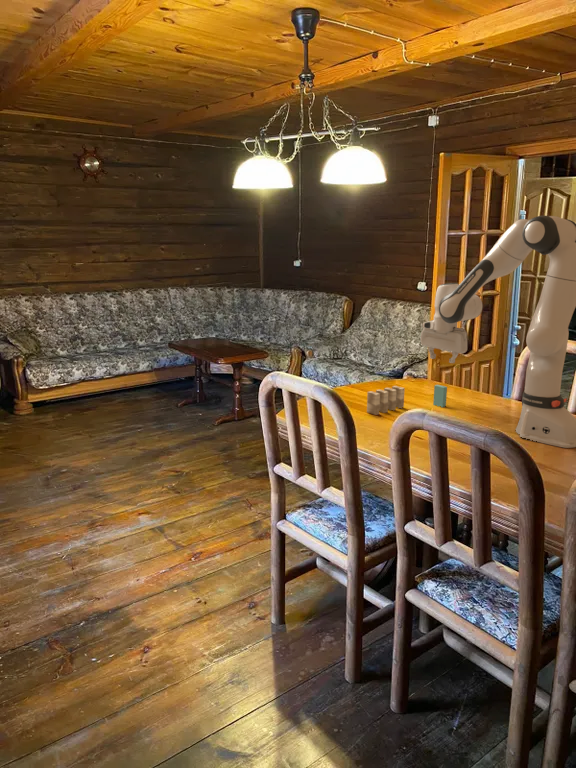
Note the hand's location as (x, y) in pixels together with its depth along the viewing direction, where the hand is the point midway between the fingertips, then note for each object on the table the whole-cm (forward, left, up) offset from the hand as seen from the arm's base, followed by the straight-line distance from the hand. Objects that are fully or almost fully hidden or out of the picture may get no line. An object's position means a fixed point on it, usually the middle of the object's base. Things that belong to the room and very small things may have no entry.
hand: (442, 360), depth 231 cm
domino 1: (+9, +28, -18) cm, 35 cm away
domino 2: (+9, +24, -18) cm, 31 cm away
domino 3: (+9, +19, -18) cm, 28 cm away
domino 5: (0, 0, -18) cm, 18 cm away
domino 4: (+9, +15, -18) cm, 25 cm away
